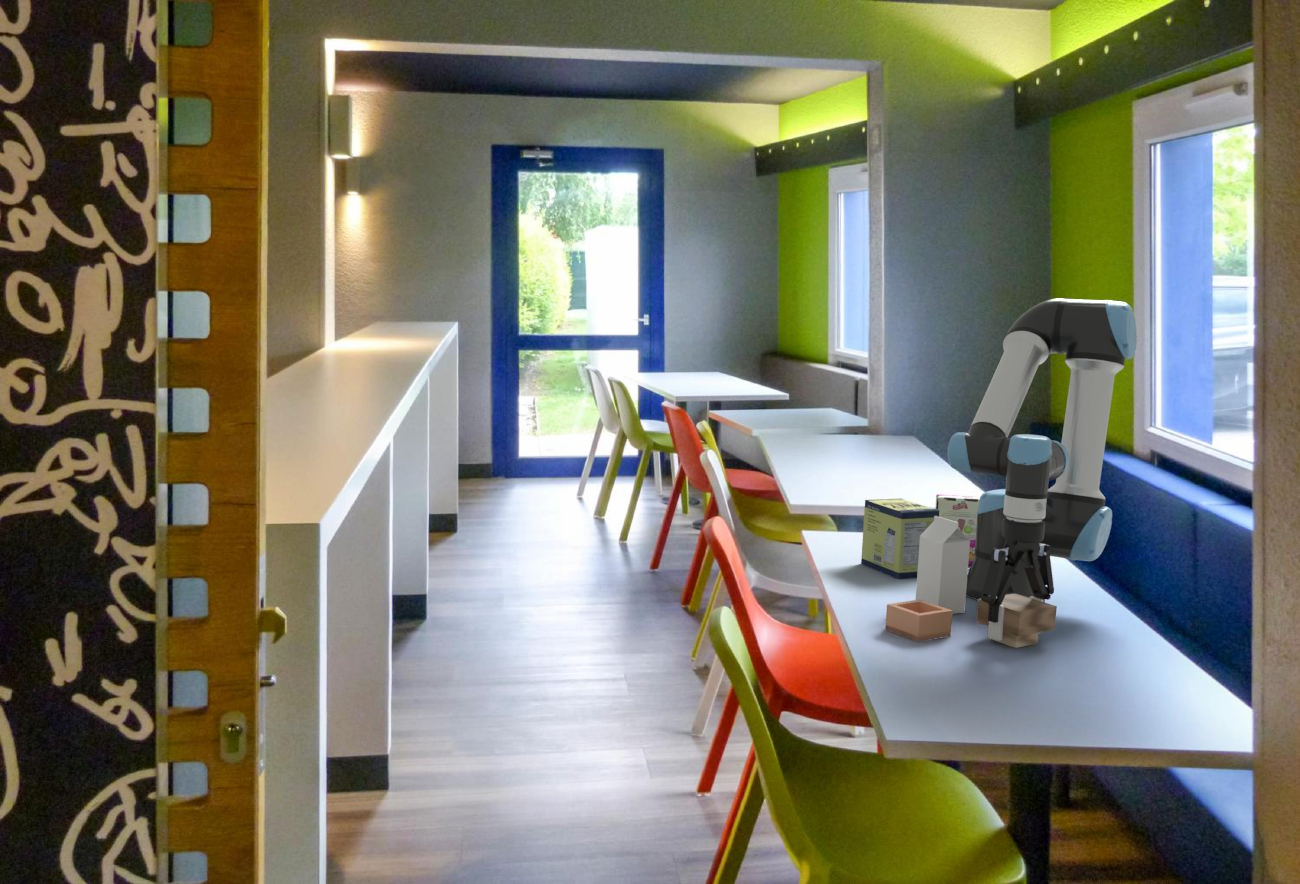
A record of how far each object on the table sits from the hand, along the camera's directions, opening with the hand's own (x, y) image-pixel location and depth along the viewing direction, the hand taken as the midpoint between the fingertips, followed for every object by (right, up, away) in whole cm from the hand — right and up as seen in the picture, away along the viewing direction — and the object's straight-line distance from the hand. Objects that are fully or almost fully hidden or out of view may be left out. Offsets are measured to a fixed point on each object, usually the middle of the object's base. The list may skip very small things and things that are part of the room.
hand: (1014, 634), depth 230 cm
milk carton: (-9, +2, +20) cm, 22 cm away
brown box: (0, +2, 0) cm, 2 cm away
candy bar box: (+5, +7, +63) cm, 64 cm away
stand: (0, -1, 0) cm, 1 cm away
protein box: (-11, +6, +54) cm, 56 cm away
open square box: (-17, 0, +3) cm, 18 cm away
